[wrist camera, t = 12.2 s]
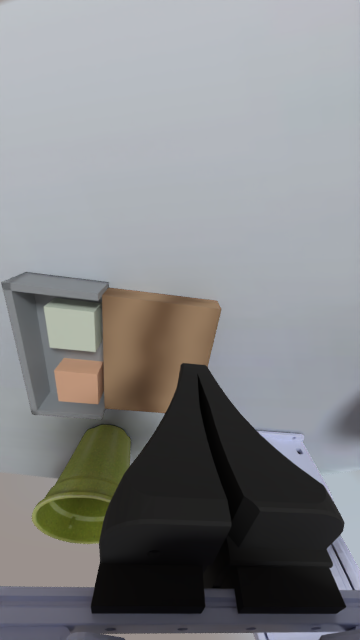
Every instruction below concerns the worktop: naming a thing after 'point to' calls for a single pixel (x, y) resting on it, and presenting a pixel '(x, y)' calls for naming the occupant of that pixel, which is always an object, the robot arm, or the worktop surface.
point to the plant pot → (85, 487)
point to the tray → (33, 344)
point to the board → (152, 345)
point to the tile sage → (74, 324)
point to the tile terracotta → (79, 380)
